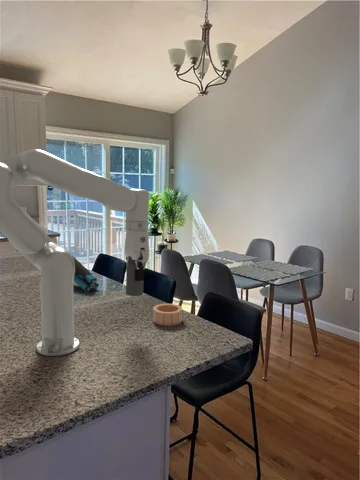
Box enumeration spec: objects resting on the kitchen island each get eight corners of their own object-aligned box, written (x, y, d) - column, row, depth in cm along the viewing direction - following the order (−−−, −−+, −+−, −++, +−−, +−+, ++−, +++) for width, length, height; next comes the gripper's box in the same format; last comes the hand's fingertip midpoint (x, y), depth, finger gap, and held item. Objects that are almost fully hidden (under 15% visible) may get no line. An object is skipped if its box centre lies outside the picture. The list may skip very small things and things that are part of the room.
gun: (83, 305, 175) (87, 277, 170) (56, 280, 191) (59, 253, 186) (97, 301, 181) (101, 274, 176) (70, 277, 197) (73, 251, 192)
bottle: (122, 293, 128) (123, 250, 126) (135, 290, 132) (137, 249, 130) (132, 297, 124) (134, 252, 122) (146, 294, 128) (148, 251, 126)
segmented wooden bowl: (182, 326, 135) (183, 313, 135) (152, 325, 135) (152, 313, 134) (181, 315, 146) (181, 303, 145) (153, 315, 146) (153, 303, 145)
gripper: (158, 228, 119) (156, 283, 122) (135, 223, 134) (134, 272, 136) (137, 229, 115) (135, 285, 118) (116, 223, 130) (114, 274, 132)
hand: (134, 278), depth 127 cm, fingers closed on bottle, 5 cm apart
